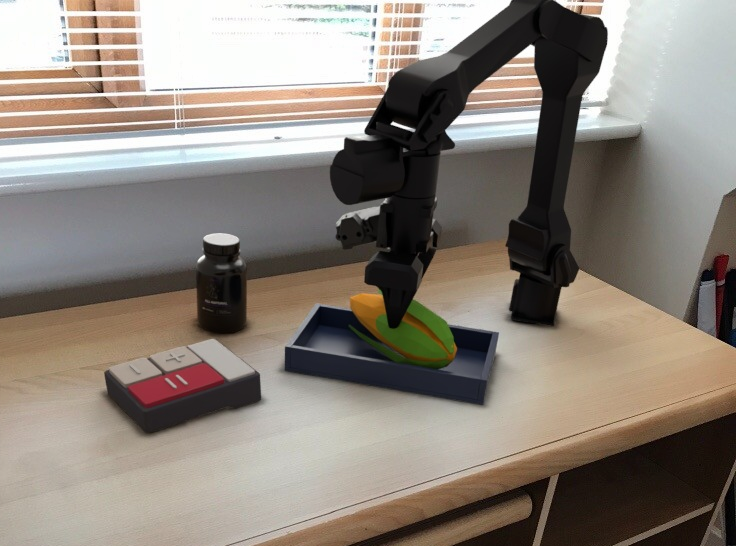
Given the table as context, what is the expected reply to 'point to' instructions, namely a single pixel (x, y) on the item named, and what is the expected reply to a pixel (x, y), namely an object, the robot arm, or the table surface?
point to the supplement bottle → (221, 285)
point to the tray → (371, 367)
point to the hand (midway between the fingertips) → (398, 316)
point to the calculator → (182, 384)
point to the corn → (406, 332)
